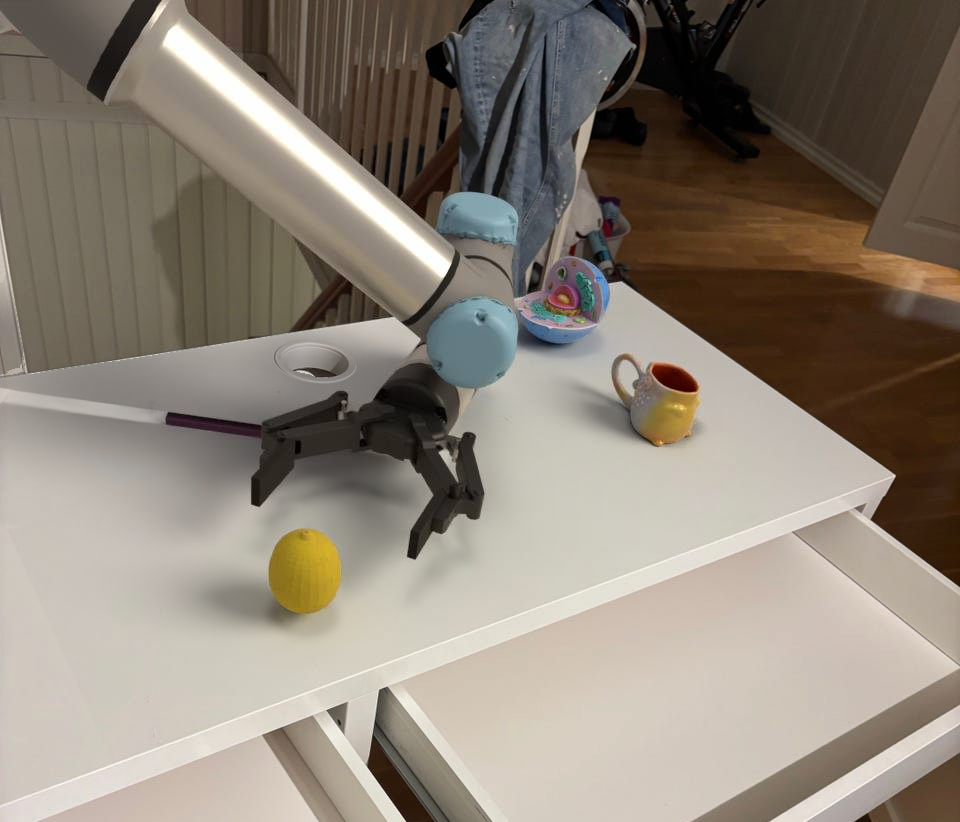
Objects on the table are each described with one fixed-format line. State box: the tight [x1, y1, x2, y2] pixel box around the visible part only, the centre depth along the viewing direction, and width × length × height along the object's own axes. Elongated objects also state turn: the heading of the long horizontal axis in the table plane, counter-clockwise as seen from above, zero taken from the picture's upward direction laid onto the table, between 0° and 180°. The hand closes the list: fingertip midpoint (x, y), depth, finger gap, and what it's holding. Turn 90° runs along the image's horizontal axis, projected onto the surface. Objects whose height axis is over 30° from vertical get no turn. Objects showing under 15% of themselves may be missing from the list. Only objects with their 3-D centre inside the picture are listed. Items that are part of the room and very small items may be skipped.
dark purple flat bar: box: [164, 411, 262, 439], centre depth 95 cm, size 14×5×1 cm, turn 90°
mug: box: [610, 352, 701, 447], centre depth 107 cm, size 12×7×7 cm, turn 35°
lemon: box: [267, 528, 342, 615], centre depth 75 cm, size 6×6×8 cm
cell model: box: [516, 255, 611, 344], centre depth 116 cm, size 10×12×10 cm
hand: (333, 519), depth 78 cm, fingers open, 13 cm apart
